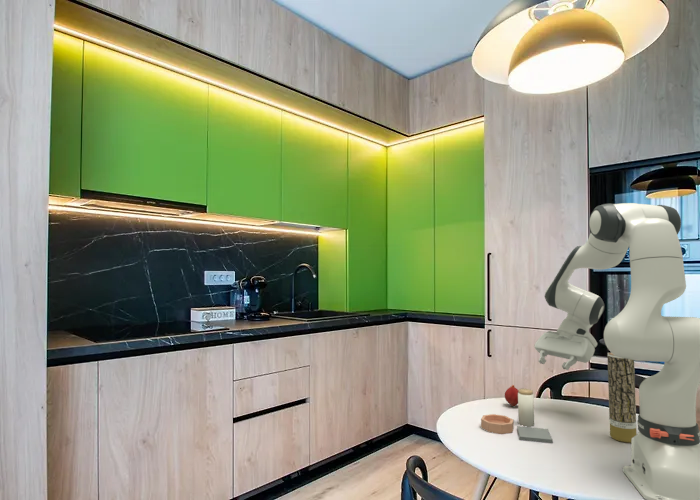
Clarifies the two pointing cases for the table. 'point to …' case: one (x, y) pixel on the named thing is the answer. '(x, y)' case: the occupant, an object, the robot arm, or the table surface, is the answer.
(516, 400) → the onion
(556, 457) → the table surface
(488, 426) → the terracotta dish
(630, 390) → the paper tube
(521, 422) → the spice jar
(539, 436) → the slate coaster
